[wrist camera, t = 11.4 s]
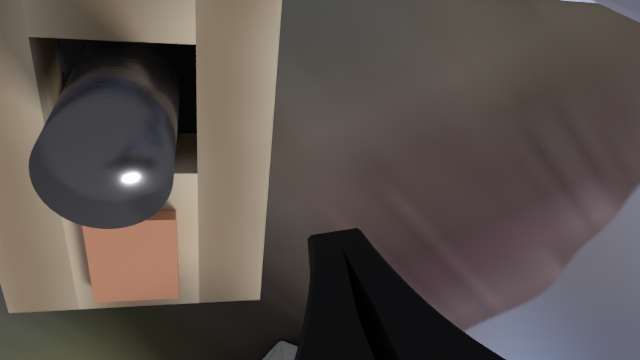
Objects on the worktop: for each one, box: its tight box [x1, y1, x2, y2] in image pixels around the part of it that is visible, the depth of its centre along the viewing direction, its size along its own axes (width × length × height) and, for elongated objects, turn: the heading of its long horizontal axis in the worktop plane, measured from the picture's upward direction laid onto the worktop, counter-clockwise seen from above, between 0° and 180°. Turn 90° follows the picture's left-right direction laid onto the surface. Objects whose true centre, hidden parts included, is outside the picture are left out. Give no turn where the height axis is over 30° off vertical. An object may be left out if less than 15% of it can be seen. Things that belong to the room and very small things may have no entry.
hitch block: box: [0, 0, 282, 313], centre depth 20 cm, size 10×13×3 cm
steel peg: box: [29, 40, 182, 229], centre depth 17 cm, size 4×4×7 cm
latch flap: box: [82, 210, 179, 303], centre depth 20 cm, size 3×4×1 cm
